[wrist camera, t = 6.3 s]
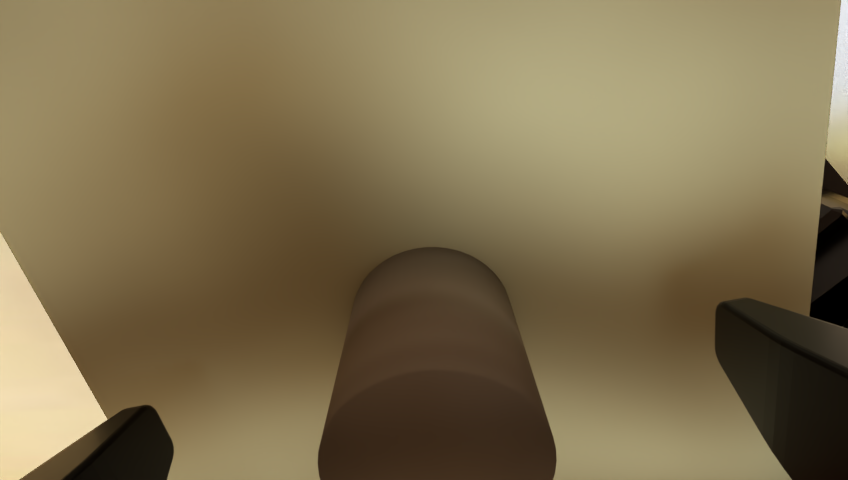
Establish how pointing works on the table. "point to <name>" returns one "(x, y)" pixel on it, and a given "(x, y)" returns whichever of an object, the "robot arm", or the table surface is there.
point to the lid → (418, 224)
